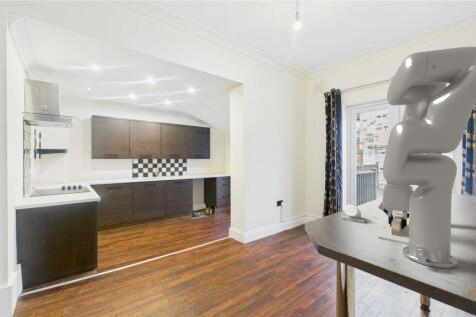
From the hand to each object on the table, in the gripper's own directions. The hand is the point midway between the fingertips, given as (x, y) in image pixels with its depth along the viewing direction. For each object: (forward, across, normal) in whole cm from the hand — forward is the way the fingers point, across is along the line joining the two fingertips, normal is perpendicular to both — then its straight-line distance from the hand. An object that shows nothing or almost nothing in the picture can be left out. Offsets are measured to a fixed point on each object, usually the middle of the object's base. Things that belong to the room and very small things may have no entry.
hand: (397, 226), depth 89 cm
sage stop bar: (+2, +18, -5) cm, 19 cm away
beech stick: (+2, 0, -2) cm, 3 cm away
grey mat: (+2, 0, -1) cm, 3 cm away
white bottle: (-3, +18, -4) cm, 19 cm away
